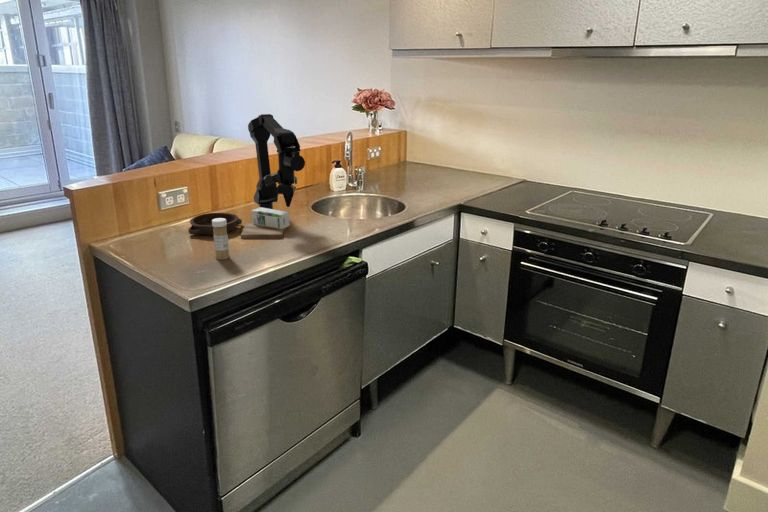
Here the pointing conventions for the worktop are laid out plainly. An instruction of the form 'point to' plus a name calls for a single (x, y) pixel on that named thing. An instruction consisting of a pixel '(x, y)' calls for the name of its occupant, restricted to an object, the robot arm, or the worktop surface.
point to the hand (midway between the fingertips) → (288, 206)
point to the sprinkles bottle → (220, 238)
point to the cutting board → (261, 231)
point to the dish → (204, 223)
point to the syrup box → (270, 218)
